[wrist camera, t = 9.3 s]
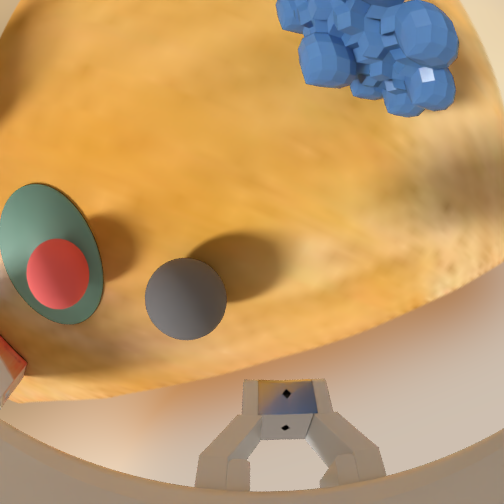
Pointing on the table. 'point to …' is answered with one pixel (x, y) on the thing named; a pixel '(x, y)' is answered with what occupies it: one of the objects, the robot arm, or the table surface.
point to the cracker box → (9, 370)
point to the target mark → (40, 230)
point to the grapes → (377, 50)
